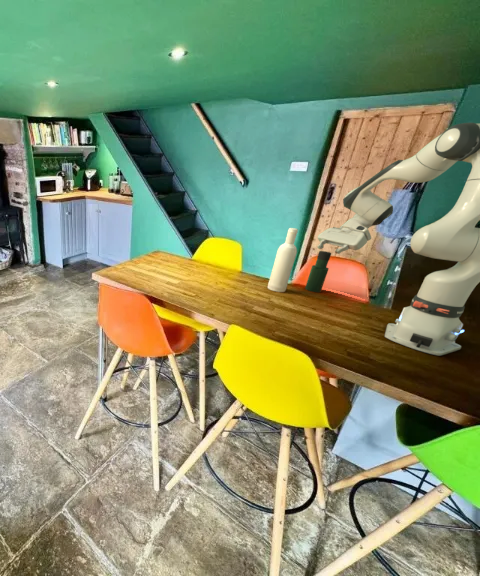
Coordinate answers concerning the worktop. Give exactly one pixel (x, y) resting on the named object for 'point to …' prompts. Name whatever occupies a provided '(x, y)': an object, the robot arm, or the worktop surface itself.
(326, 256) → the stopper
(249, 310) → the worktop surface
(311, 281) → the bottle
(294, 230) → the bottle
